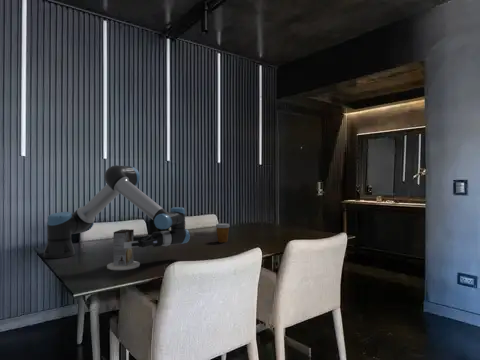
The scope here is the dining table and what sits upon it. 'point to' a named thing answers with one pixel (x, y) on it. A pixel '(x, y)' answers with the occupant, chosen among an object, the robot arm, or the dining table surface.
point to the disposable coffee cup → (222, 232)
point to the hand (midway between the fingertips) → (119, 243)
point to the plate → (130, 266)
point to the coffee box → (120, 253)
